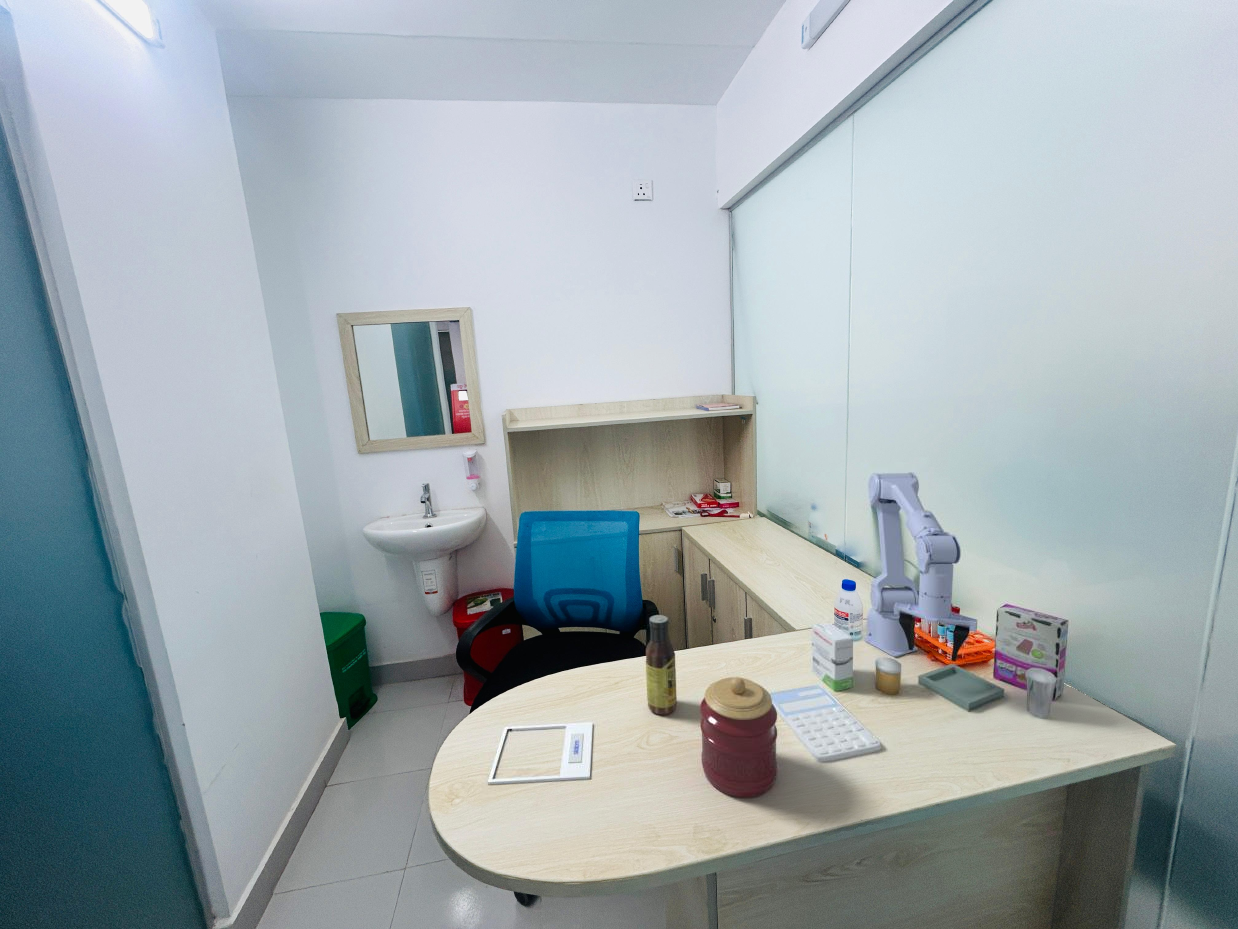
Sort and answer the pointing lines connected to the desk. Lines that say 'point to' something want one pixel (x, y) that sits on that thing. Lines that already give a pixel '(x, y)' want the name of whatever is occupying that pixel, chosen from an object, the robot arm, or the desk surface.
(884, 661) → the pill bottle
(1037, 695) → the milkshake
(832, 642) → the ink box
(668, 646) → the sauce bottle
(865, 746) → the calculator
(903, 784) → the desk surface
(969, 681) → the tray
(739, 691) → the canister
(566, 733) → the photo frame
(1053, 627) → the candy bar box
